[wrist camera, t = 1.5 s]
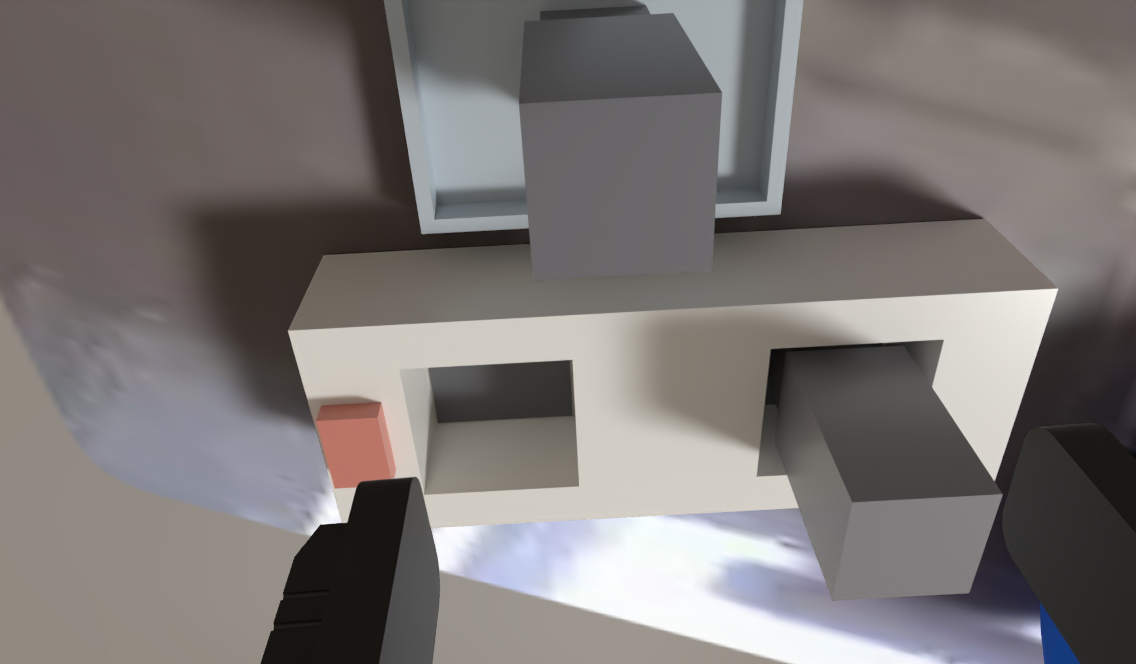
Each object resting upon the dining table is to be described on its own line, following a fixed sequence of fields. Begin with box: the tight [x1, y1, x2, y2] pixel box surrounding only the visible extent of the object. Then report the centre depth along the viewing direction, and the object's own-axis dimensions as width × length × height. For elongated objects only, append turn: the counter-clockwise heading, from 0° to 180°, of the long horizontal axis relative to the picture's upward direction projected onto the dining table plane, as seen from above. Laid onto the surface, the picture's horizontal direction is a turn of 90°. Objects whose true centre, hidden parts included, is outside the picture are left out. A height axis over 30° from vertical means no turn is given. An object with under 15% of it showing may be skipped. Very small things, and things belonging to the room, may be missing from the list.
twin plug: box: [768, 343, 1003, 601], centre depth 27 cm, size 4×4×10 cm
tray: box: [384, 0, 803, 234], centre depth 25 cm, size 10×12×2 cm
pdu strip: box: [288, 219, 1058, 528], centre depth 30 cm, size 9×24×6 cm, turn 93°
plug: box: [519, 6, 722, 281], centre depth 21 cm, size 4×4×10 cm
